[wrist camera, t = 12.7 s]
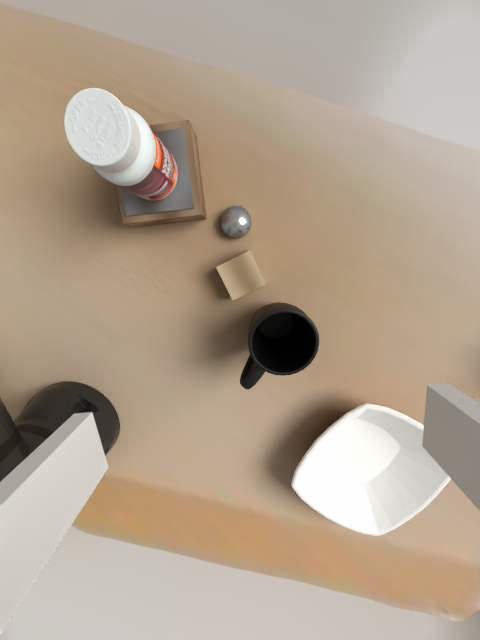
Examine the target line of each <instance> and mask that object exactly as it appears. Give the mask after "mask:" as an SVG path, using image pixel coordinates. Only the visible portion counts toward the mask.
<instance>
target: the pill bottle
mask: <svg viewBox="0 0 480 640" xmlns="http://www.w3.org/2000/svg"><path fill="white" fill-rule="evenodd" d="M64 127H65V133H66V136H67V139H68V141H69V143H70V145H71V147H72V149H73V150H74V151H75V153H76V154H77V155H78V156H79V157H80V158H82V159H83V160H84V161H86V162H87V163H89V164H91V165H92V166H93V168H94V169H95V170H96V171H97V172H98V173H99V174H100V175H101V176H102V177H103V178H105V179H106V180H108V181H109V182H111V183H114V184H116V185H117V186H119V187H121V188H123V189H126V190H127V191H129V192H131V193H133V194H135V195H137V196H139V197H141V198H144V199H147V200H160V199H163V198H165V197H167V196H168V195H169V194H170V193H171V192H172V191H173V189H174V187H175V185H176V182H177V175H178V172H177V166H176V162H175V160H174V158H173V156H172V154H171V153H170V152H169V150H168V149H167V148H166V147H165V145H164V144H163V143H162V142H161V140H160V139H159V138H158V137H157V135H156V134H155V133H154V132H153V131H152V129H151V128H150V127H149V125H148V124H147V123H146V121H145V120H144V119H143V118H142V117H141V116H140V115H139V114H138V113H137V112H135V111H134V110H132V109H130V108H129V107H126V106H124V105H123V104H122V103H121V102H120V101H119V100H118V99H117V98H116V97H115V96H114V95H112V94H111V93H109V92H107V91H105V90H102V89H99V88H88V89H84V90H82V91H80V92H78V93H77V94H75V95H74V96H73V97H72V99H71V100H70V101H69V103H68V105H67V108H66V111H65V116H64Z"/></svg>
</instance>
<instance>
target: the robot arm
mask: <svg viewBox="0 0 480 640" xmlns="http://www.w3.org/2000/svg"><path fill="white" fill-rule="evenodd" d="M119 430H120V423H119V418H118V415H117V412H116V410H115V408H114V407H113V405H112V404H111V402H110V401H109V400H108V399H107V398H106V397H105V396H104V395H103V394H101V393H100V392H99V391H97V390H95V389H94V388H92V387H90V386H87V385H84V384H81V383H76V382H60V383H56V384H53V385H50V386H48V387H47V388H45V389H44V390H42V391H41V392H39V393H38V394H36V395H35V396H34V397H33V398H32V399H31V400H30V401H29V402H28V403H27V405H26V407H25V408H24V410H23V411H22V412H21V413H20V415H19V416H18V417H17V419H16V420H15V421H14V422H13V420H12V418H11V416H10V414H9V412H8V411H7V409H6V407H5V405H4V403H3V402H2V400H1V398H0V634H1V632H2V631H3V629H4V628H5V626H6V625H7V623H8V621H9V620H10V618H11V617H12V615H13V614H14V612H15V611H16V609H17V608H18V606H19V604H20V603H21V602H22V600H23V598H24V597H25V595H26V594H27V592H28V591H29V589H30V588H31V586H32V585H33V583H34V581H35V580H36V578H37V577H38V575H39V574H40V572H41V571H42V569H43V567H44V566H45V565H46V563H47V561H48V560H49V558H50V557H51V555H52V554H53V552H54V551H55V549H56V548H57V546H58V545H59V543H60V541H61V540H62V538H63V537H64V535H65V534H66V532H67V531H68V529H69V528H70V526H71V525H72V523H73V521H74V520H75V518H76V517H77V515H78V514H79V512H80V511H81V509H82V508H83V506H84V505H85V503H86V501H87V500H88V498H89V497H90V495H91V494H92V492H93V491H94V489H95V488H96V486H97V485H98V483H99V481H100V480H101V478H102V477H103V475H104V474H105V472H106V471H107V469H108V464H107V461H106V457H105V456H106V455H107V453H108V452H109V451H110V449H111V448H112V447H113V445H114V444H115V442H116V440H117V438H118V435H119ZM422 447H423V448H424V449H425V450H426V451H427V452H428V453H429V454H430V456H431V457H432V458H433V459H434V460H435V461H436V462H437V463H438V465H439V466H440V467H441V468H442V469H443V470H444V471H445V472H446V473H447V475H448V476H449V477H450V478H451V479H452V480H453V481H454V482H455V483H456V485H457V486H458V487H459V488H460V489H461V490H462V491H463V492H464V494H465V495H466V496H467V497H468V498H469V499H470V500H471V501H472V502H473V504H474V505H475V506H476V507H477V508H478V509H479V510H480V404H479V403H478V402H476V401H475V400H473V399H472V398H470V397H469V396H467V395H466V394H464V393H463V392H461V391H460V390H458V389H456V388H455V387H453V386H452V385H450V384H449V383H445V384H433V385H427V394H426V406H425V418H424V430H423V443H422Z"/></svg>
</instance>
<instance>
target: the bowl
mask: <svg viewBox="0 0 480 640" xmlns="http://www.w3.org/2000/svg"><path fill="white" fill-rule="evenodd" d="M423 430H424V425H422V424H421V423H419V422H417V421H415V420H413V419H411V418H410V417H408V416H406V415H404V414H402V413H400V412H397V411H395V410H392V409H390V408H388V407H384V406H379V405H374V404H368V403H365V404H362V405H360V406H359V407H357V408H355V409H353V410H351V411H349V412H347V413H346V414H344V415H343V416H342V417H341V418H339V419H338V420H337V421H336V422H335V423H333V424H332V425H331V426H330V427H329V428H328V429H326V430H325V431H324V432H323V433H322V434H321V435H320V436H319V437H318V438H317V439H316V440H315V442H314V443H313V444H312V445H311V447H310V448H309V449H308V451H307V452H306V453H305V455H304V456H303V458H302V460H301V461H300V463H299V464H298V466H297V468H296V469H295V472H294V475H293V479H292V482H291V486H292V488H293V489H294V491H295V492H296V493H297V494H298V496H299V497H300V498H301V499H302V500H303V501H304V502H305V503H307V504H308V505H309V506H310V507H311V508H313V509H314V510H316V511H317V512H319V513H320V514H322V515H323V516H325V517H326V518H328V519H330V520H332V521H334V522H336V523H338V524H340V525H342V526H344V527H346V528H349V529H352V530H354V531H357V532H360V533H364V534H369V535H375V536H380V535H382V534H385V533H387V532H389V531H391V530H394V529H396V528H397V527H399V526H400V525H402V524H403V523H405V522H406V521H408V520H409V519H411V518H412V517H413V516H415V515H416V514H417V513H419V512H420V511H421V510H422V509H424V508H425V507H426V506H427V505H428V504H429V503H430V502H431V501H432V500H433V499H434V498H435V497H436V496H437V495H438V494H439V493H440V491H441V490H442V489H443V488H444V487H445V486H446V484H447V483H448V482H449V481H450V479H451V478H450V477H449V476H448V475H447V473H446V472H445V471H444V470H443V469H442V468H441V467H440V466H439V465H438V463H437V462H436V461H435V460H434V459H433V458H432V457H431V456H430V454H429V453H428V452H427V451H426V450H425V449H424V448H423V447H422V443H423Z"/></svg>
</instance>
